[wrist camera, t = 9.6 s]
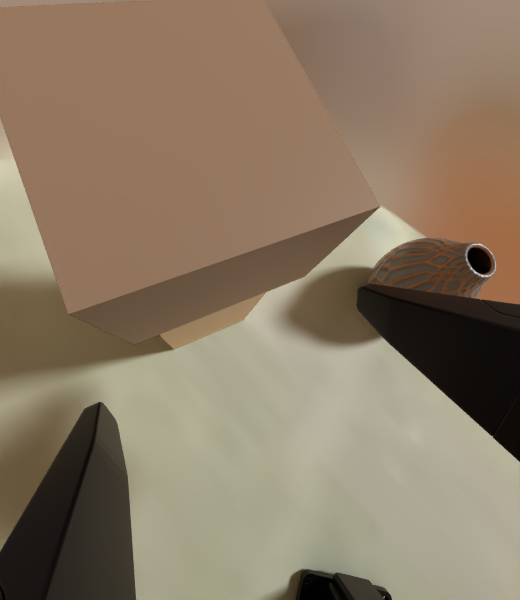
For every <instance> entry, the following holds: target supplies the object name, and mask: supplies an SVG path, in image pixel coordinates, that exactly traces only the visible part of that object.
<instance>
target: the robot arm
mask: <svg viewBox="0 0 520 600" xmlns="http://www.w3.org/2000/svg"><path fill="white" fill-rule="evenodd" d="M357 308H358V310H359V312H360V313H361V314H362V315H363V316H364V317H365V318H366V319H367V320H368V322H369V323H370V324H371V325H372V326H373V327H374V328H375V329H376V330H377V331H378V333H379V334H380V335H381V336H382V337H383V338H384V339H385V340H386V341H387V342H388V343H389V344H390V345H391V346H392V347H394V348H395V349H396V350H397V351H398V352H399V353H400V354H401V355H402V356H404V357H405V358H406V359H407V360H408V361H409V362H410V363H411V364H412V365H413V366H415V367H416V368H417V369H418V370H419V371H420V372H421V373H422V374H423V375H425V376H426V377H427V378H428V379H429V380H430V381H431V382H432V383H433V384H435V385H436V386H437V387H438V388H439V389H440V390H441V391H442V392H443V393H444V394H446V395H447V396H448V397H449V398H450V399H451V400H452V401H453V402H454V403H456V404H457V405H458V406H459V407H460V408H461V409H462V410H463V411H464V412H465V413H467V414H468V415H469V416H470V417H471V418H472V419H473V420H474V421H475V422H477V423H478V424H479V425H480V426H481V427H482V428H483V429H484V430H485V431H486V432H488V433H489V434H490V435H491V436H493V438H494V439H495V440H496V441H497V442H498V443H500V444H501V445H502V446H503V447H504V448H505V449H506V450H507V451H508V452H509V453H511V454H512V455H513V456H514V457H515V458H516V459H517V460H518V461H519V462H520V304H511V303H503V302H496V301H490V300H480V299H475V298H468V297H462V296H455V295H448V294H441V293H434V292H427V291H420V290H413V289H406V288H399V287H392V286H386V285H379V284H372V283H367V284H365V285H362V286H360V287H359V288H358V291H357ZM309 578H311V581H310V582H309V583H307V584H306V581H307V579H309ZM384 596H385V598H383V597H384ZM0 600H136V593H135V578H134V562H133V547H132V532H131V517H130V502H129V487H128V476H127V471H126V465H125V460H124V455H123V450H122V445H121V440H120V434H119V429H118V425H117V422H116V420H115V418H114V417H113V415H112V414H111V413H110V411H109V410H108V409H107V407H106V406H105V405H104V404H103V403H102V402H98V403H96V404H94V405H91V406H89V407H87V408H85V409H84V411H83V412H82V414H81V416H80V417H79V419H78V421H77V422H76V424H75V426H74V427H73V429H72V431H71V432H70V434H69V436H68V438H67V439H66V441H65V443H64V444H63V446H62V448H61V449H60V451H59V453H58V455H57V456H56V458H55V460H54V461H53V463H52V465H51V466H50V468H49V470H48V471H47V473H46V475H45V477H44V478H43V480H42V482H41V483H40V485H39V487H38V488H37V490H36V492H35V493H34V495H33V497H32V499H31V500H30V502H29V504H28V505H27V507H26V509H25V510H24V512H23V514H22V515H21V517H20V519H19V521H18V522H17V524H16V526H15V527H14V529H13V531H12V532H11V534H10V536H9V538H8V539H7V541H6V543H5V544H4V546H3V548H2V549H1V551H0ZM296 600H392V598H391V595H390V594H389V593H388V591H387V590H386V589H385V588H383V587H380V586H376V585H372V583H371V582H370V581H369V580H366V579H362V578H358V577H354V576H350V575H346V574H341V573H335V574H333V575H330V574H326V573H321V572H317V571H313V570H305V571H303V573H302V574H301V577H300V582H299V587H298V592H297V597H296Z"/></svg>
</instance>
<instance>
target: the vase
mask: <svg viewBox="0 0 520 600" xmlns="http://www.w3.org/2000/svg"><path fill="white" fill-rule="evenodd" d="M495 271H496V261H495V258H494V256H493V254H492V253H491V251H490V250H489V249H488V248H487V247H485V246H484V245H482V244H480V243H475V242H473V243H459V242H455V241H451V240H446V239H441V238H423V239H418V240H413V241H410V242H407V243H404V244H402V245H400V246H398V247H396V248H394V249H393V250H391V251H390V252H388V253H387V254H386V255H385V256H383V257H382V258H381V259H380V260H379V261H378V263H377V264H376V265H375V267H374V268H373V270H372V272H371V274H370V276H369V279H368V283H372V284H379V285H386V286H392V287H399V288H406V289H413V290H420V291H427V292H434V293H441V294H448V295H455V296H462V297H468V298H475V299H477V297H478V295H479V293H480V291H481V289H482V287H483V285H484V283H485V282H486V281H487V280H489V279H490V278H491V277H492V276H493V275H494V273H495Z"/></svg>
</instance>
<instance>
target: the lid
mask: <svg viewBox="0 0 520 600" xmlns="http://www.w3.org/2000/svg"><path fill="white" fill-rule="evenodd" d="M0 118H1V121H2V124H3V127H4V129H5V133H6V135H7V138H8V141H9V144H10V147H11V150H12V153H13V156H14V159H15V162H16V165H17V167H18V170H19V173H20V176H21V179H22V182H23V185H24V188H25V191H26V194H27V196H28V199H29V202H30V205H31V208H32V211H33V214H34V217H35V220H36V223H37V226H38V228H39V231H40V234H41V237H42V240H43V243H44V246H45V249H46V252H47V255H48V257H49V260H50V263H51V266H52V269H53V272H54V275H55V278H56V281H57V284H58V287H59V289H60V292H61V295H62V298H63V301H64V304H65V307H66V310H67V313H68V314H69V315H71V316H73V317H75V318H77V319H79V320H82V321H84V322H86V323H88V324H90V325H92V326H95V327H97V328H99V329H101V330H103V331H105V332H108V333H110V334H112V335H114V336H116V337H119V338H121V339H123V340H125V341H127V342H129V343H132V344H134V345H135V344H137V343H140V342H142V341H145V340H147V339H150V338H152V337H155V336H157V335H160V334H162V333H165V332H167V331H170V330H172V329H175V328H177V327H180V326H182V325H185V324H187V323H190V322H192V321H195V320H197V319H200V318H202V317H205V316H207V315H210V314H212V313H215V312H217V311H220V310H222V309H225V308H227V307H230V306H232V305H235V304H237V303H240V302H242V301H245V300H247V299H250V298H252V297H255V296H257V295H260V294H262V293H265V292H267V291H270V290H272V289H275V288H277V287H280V286H282V285H285V284H287V283H290V282H292V281H295V280H297V279H300V278H302V277H305V276H306V275H307V274H308V273H309V272H310V271H311V270H312V269H313V268H314V267H315V266H317V265H318V264H319V263H320V262H321V261H322V260H323V259H324V258H325V257H326V256H327V255H328V254H330V253H331V252H332V251H333V250H334V249H335V248H336V247H337V246H338V245H339V244H340V243H341V242H343V241H344V240H345V239H346V238H347V237H348V236H349V235H350V234H351V233H352V232H353V231H354V230H355V229H357V228H358V227H359V226H360V225H361V224H362V223H363V222H364V221H365V220H366V219H367V218H368V217H370V216H371V215H372V214H373V213H374V212H375V211H376V210H377V209H378V208H379V207H380V204H379V203H378V201H377V199H376V197H375V196H374V194H373V192H372V190H371V189H370V187H369V185H368V183H367V181H366V180H365V178H364V176H363V174H362V173H361V171H360V169H359V167H358V166H357V164H356V162H355V160H354V158H353V157H352V155H351V153H350V151H349V150H348V148H347V146H346V144H345V143H344V141H343V139H342V137H341V135H340V134H339V132H338V130H337V128H336V127H335V125H334V123H333V121H332V120H331V118H330V116H329V114H328V112H327V111H326V109H325V107H324V105H323V104H322V102H321V100H320V98H319V96H318V95H317V93H316V91H315V90H314V88H313V86H312V84H311V82H310V80H309V79H308V77H307V75H306V73H305V72H304V70H303V68H302V66H301V65H300V63H299V61H298V59H297V58H296V56H295V54H294V52H293V50H292V49H291V47H290V45H289V43H288V42H287V40H286V38H285V36H284V35H283V33H282V31H281V29H280V27H279V26H278V24H277V22H276V20H275V19H274V17H273V15H272V13H271V11H270V10H269V8H268V6H267V4H266V3H265V1H264V0H146V1H126V2H125V1H124V2H102V3H81V4H60V5H39V6H19V7H18V6H17V7H0Z"/></svg>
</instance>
